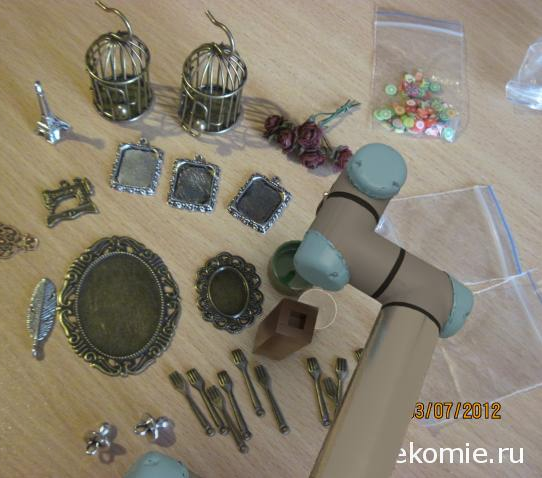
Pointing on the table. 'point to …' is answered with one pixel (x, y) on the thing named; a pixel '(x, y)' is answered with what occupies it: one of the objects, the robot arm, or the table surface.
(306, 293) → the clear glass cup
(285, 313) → the stand
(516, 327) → the table surface
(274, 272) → the bowl
